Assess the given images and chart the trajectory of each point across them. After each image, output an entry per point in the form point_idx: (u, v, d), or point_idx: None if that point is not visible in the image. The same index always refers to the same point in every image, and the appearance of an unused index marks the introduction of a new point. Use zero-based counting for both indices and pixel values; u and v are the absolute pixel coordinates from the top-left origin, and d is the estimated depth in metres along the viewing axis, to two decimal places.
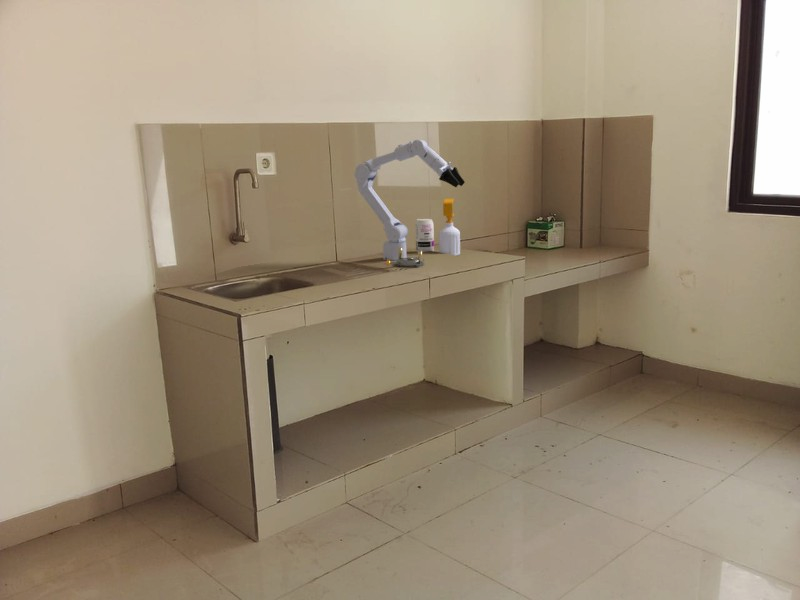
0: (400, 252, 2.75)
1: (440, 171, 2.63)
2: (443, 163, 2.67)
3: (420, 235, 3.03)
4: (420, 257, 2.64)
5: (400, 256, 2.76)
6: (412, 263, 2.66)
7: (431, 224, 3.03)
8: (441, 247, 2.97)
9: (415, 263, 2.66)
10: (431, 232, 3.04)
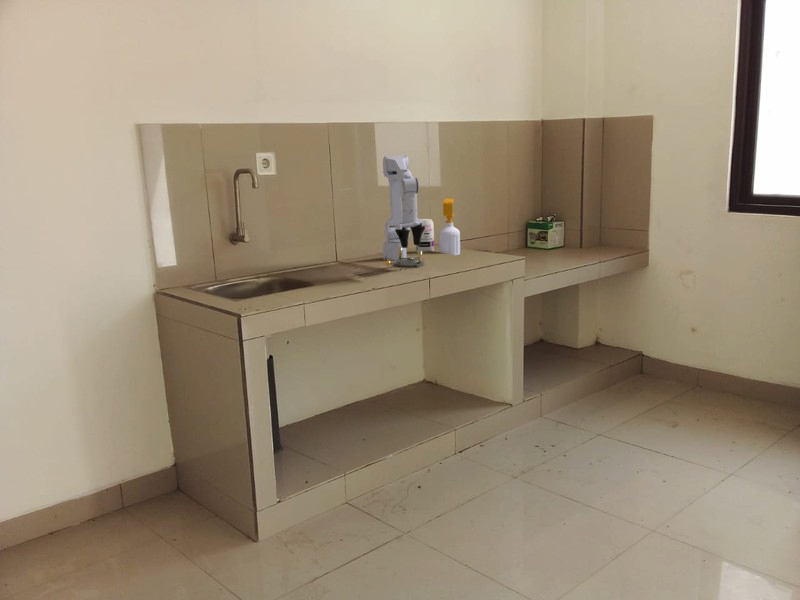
0: (400, 252, 2.75)
1: (398, 227, 2.51)
2: (411, 219, 2.54)
3: None
4: (420, 257, 2.64)
5: (400, 256, 2.76)
6: (412, 263, 2.66)
7: (431, 224, 3.03)
8: (441, 247, 2.97)
9: (415, 263, 2.66)
10: (431, 232, 3.04)
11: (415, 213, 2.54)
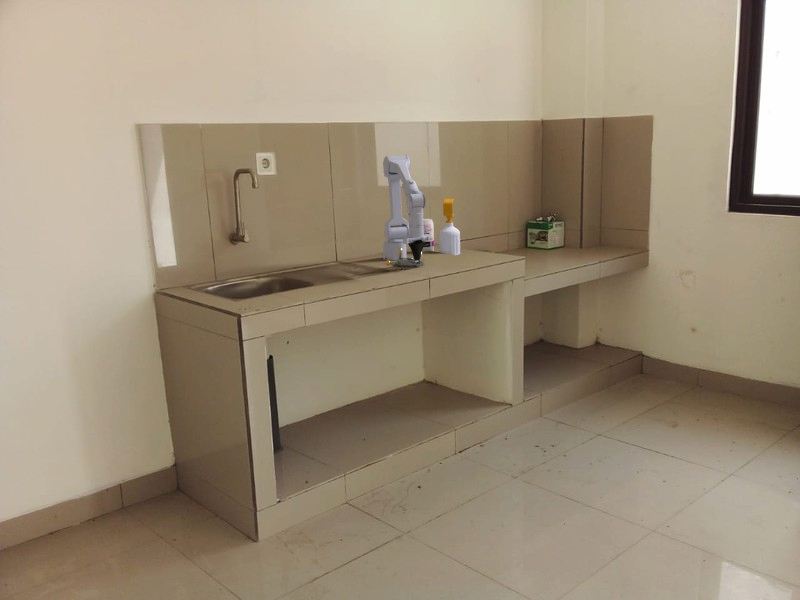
0: (400, 252, 2.75)
1: (405, 241, 2.56)
2: (418, 234, 2.58)
3: None
4: (420, 257, 2.64)
5: (400, 256, 2.76)
6: (412, 263, 2.66)
7: (431, 224, 3.03)
8: (441, 247, 2.97)
9: (415, 263, 2.66)
10: (431, 232, 3.04)
11: (421, 227, 2.58)
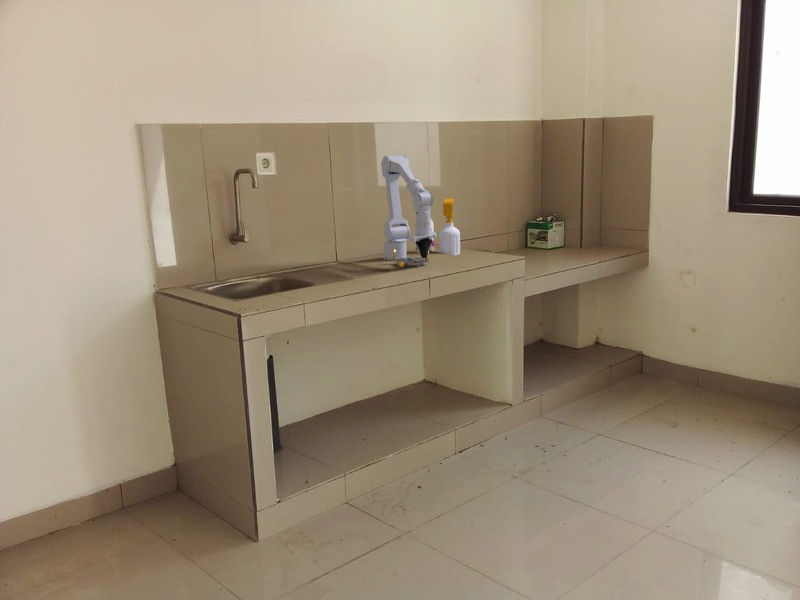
0: (394, 253, 2.72)
1: (413, 239, 2.59)
2: (425, 232, 2.61)
3: None
4: (428, 255, 2.67)
5: (394, 258, 2.72)
6: (420, 262, 2.67)
7: (431, 224, 3.03)
8: (441, 247, 2.97)
9: (422, 262, 2.68)
10: (431, 232, 3.04)
11: (429, 226, 2.62)
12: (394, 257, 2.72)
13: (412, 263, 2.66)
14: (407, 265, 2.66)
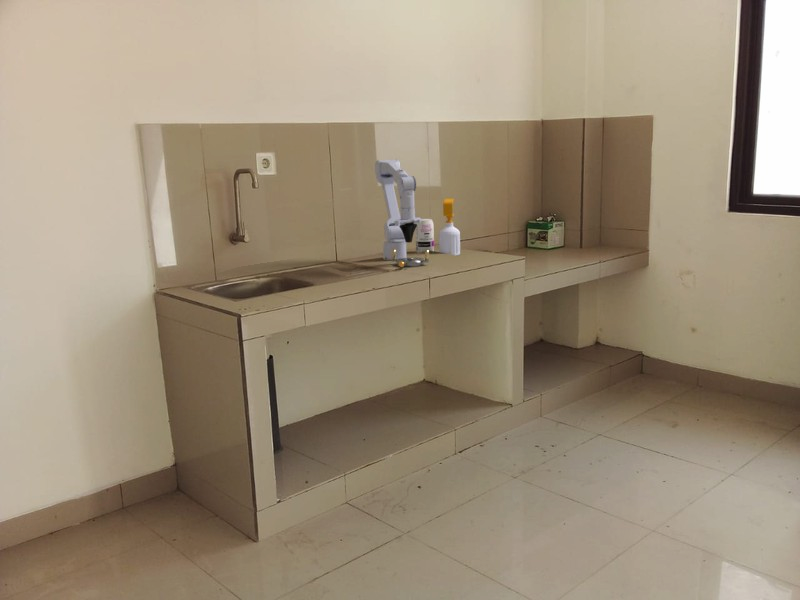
0: (394, 253, 2.72)
1: (397, 223, 2.63)
2: (409, 216, 2.65)
3: (420, 235, 3.03)
4: (428, 255, 2.67)
5: (394, 258, 2.72)
6: (420, 262, 2.67)
7: (431, 224, 3.03)
8: (441, 247, 2.97)
9: (422, 262, 2.68)
10: (431, 232, 3.04)
11: (413, 210, 2.65)
12: (394, 257, 2.72)
13: (412, 263, 2.66)
14: (407, 265, 2.66)
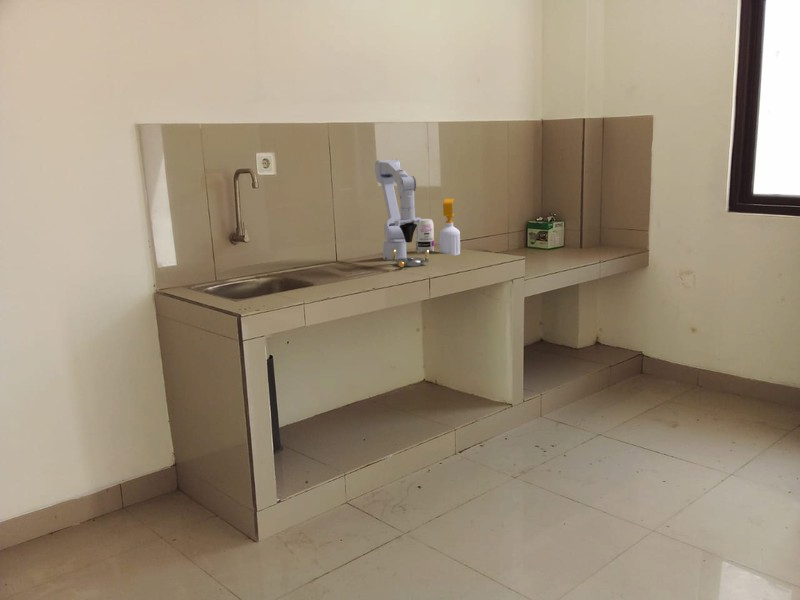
0: (394, 253, 2.72)
1: (397, 223, 2.63)
2: (409, 216, 2.65)
3: (420, 235, 3.03)
4: (428, 255, 2.67)
5: (394, 258, 2.72)
6: (420, 262, 2.67)
7: (431, 224, 3.03)
8: (441, 247, 2.97)
9: (422, 262, 2.68)
10: (431, 232, 3.04)
11: (413, 210, 2.65)
12: (394, 257, 2.72)
13: (412, 263, 2.66)
14: (407, 265, 2.66)
